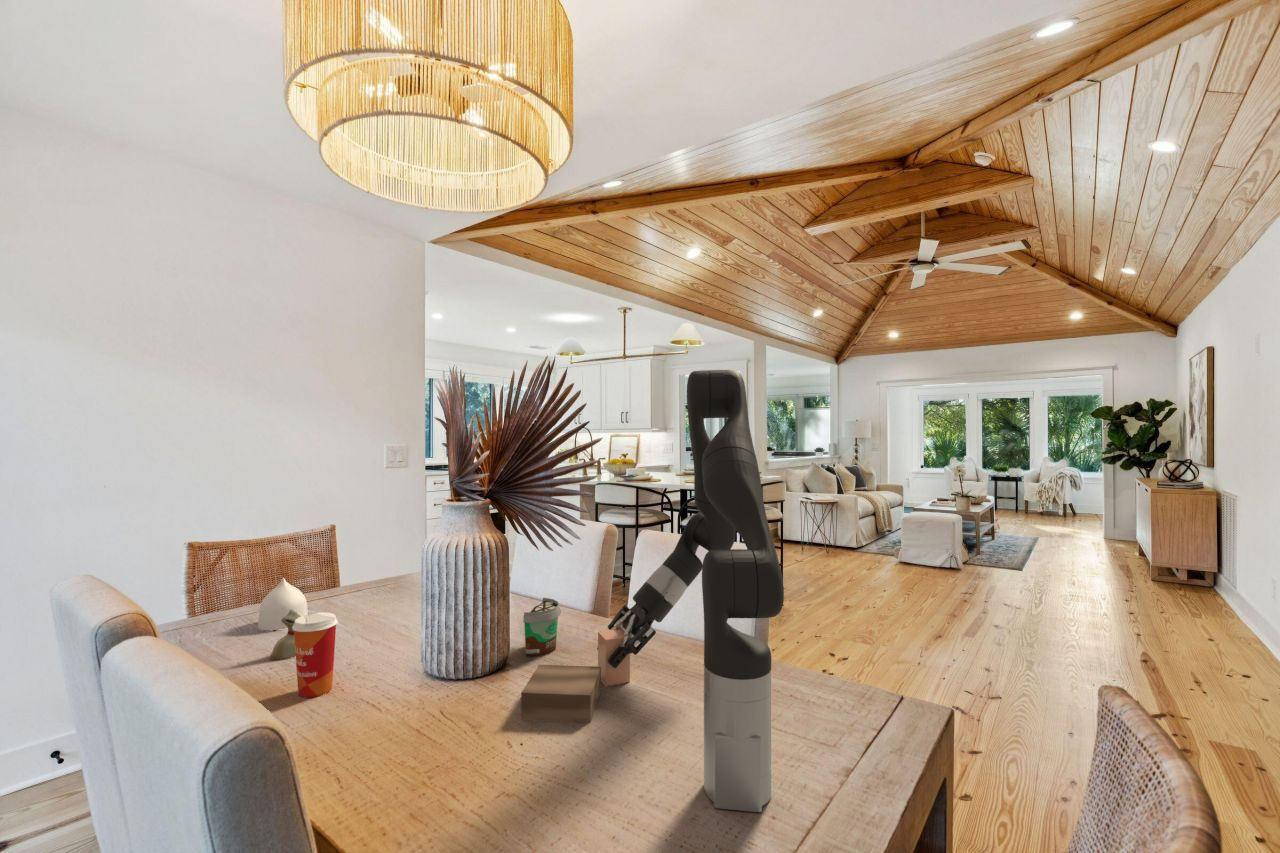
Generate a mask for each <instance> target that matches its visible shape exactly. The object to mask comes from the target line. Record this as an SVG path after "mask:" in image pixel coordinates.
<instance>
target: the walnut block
mask: <svg viewBox="0 0 1280 853" xmlns="http://www.w3.org/2000/svg"><path fill="white" fill-rule="evenodd" d="M601 692H602V681H601V667H598V666H593V665H591V666H589V665H586V666H585V665H561V664H560V665H557V664H538V665H537V667H536V668H535V670H534V672H533V674H532V675H531V677H530V678H529V679H528V681H527V682H526V685H525V686H524V687H523V689H522V691H521V695H520V696H521V697H520V698H521V701H520V702H521V703H520V704H521V705H520V706H521V711H520V712H521V714H520V716H521V717H520V718H521V721H524V720H525V721H542V722H543V721H544V722H545V721H546V722H567V723H569V722H570V723H591V722H592V720H593V716H594V713H595V710H596V707H597V704H598V701H599V698H600V695H601Z"/></svg>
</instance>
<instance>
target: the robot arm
mask: <svg viewBox="0 0 1280 853" xmlns="http://www.w3.org/2000/svg"><path fill="white" fill-rule="evenodd" d="M686 408H687V417H688V429H689V438H690V446H691V454H692V461H693V473H694V474H693V475H694V476H693V477H694V480H693V482H694V485H693V487H694V488H693V489H694V491H693V492H694V494H693V495H694V497H693V498H694V505H695V507H696V508H697V510H698V512H697V513H695V514H693V516H691V517H690V518H689V520H688V521H687V523H686V525H685V527H684V528H683V531H682V533H681V535H680V538H679V539H678V542H677V544H676V545H675V547H674V548H673V549H674V550H673V551H672V552H671V553H670V554H669V555H668V557H667V558H666V559H665V560H664V561H663V563H662V564H661V565H660V566H659V567H658V568H657V569H656V570H655V571H653V572H652V574H651V575H650V576H649V577H648V578H647V579H646V581H645V582H644V583H643V584H642V586H641V587H640V588H639V589H638V590H637V591H636V593H635V594H634V595H633V597H632V600H633V601H634V603H635V604H634V605H633V606H631V608H630V607H628V606H627V604H625V605H623V606H622V607H621V608H620V610H619V611H618V612H617V613H616V615H615V616H614V618H613V619H612V620H611V621H610V623H609V624H608V626H607V629H608V630H615V629H622V630H623V631H625V632H624V636H625V637H624V639H623V641H622V643H621V647H620V646H619V647H618V648H617V649H616V650H615V652H614V653H613V654H612V655H611V656H610V658H609V659H608V663H609V664H610V665H611V666H612V667H613V668H617V667H618V665H619V664H620V663H621V662H622V661H623V659H624V658H625V657H626V656H627V655H628V654H630V655H631V654H633V655H634V656H635V655H636V656H637V654H639V652H640V651H641V650H643V648H644V647H645V646H646V645H647V644H648V643H649V641H650V640H652V638H653V637H654V636H656V634H657V631H656V629H654V628H653V626H652V625H653V623H654V621H655V622H656V623H661V622H662V621H663V620H664V619H665V618H666V617H667V615H669V613H670V611H671V610H672V609H673V608H674V607H675V605H676V604H677V603H678V602H679V600H680V599H681V598H682V597H683V595H684V594H685V591H686V590H687V589H688V588H689V587H690V586H691V584H692V583H693V582H694V580H695V579H696V578H697V576H698V575H699V574H700V573H701V589H702V590H701V591H702V605H703V623H704V624H703V626H704V627H703V629H704V630H703V632H704V633H703V634H704V636H703V638H704V639H703V643H704V644H703V649H704V650H703V790H704V792H705V794H706V796H707V797H708V799H710V800H711V802H713V808H715V809H721V810H732V811H741V812H743V811H744V812H751V813H761V812H762V811H763V807H764V806H765V805H766V804H767V803H769V801H770V800H771V796H772V652H771V649H770V647H769V645H767V643H766V642H764V641H763V640H762V639H759V638H757V637H756V636H754V635H753V636H752V635H750V634H747V633H744V632H742V631H740V630H737V628H734V627H732V625H730V624H729V623H728V620H729V619H768V618H769V619H770V618H774V617H777V616H778V615H779V614H780V613H781V611H782V609H783V608H784V607H783V606H784V601H785V590H784V589H785V588H784V580H783V573H782V569H781V566H780V561H779V558H778V557H779V556H778V554H777V550H776V547H775V542H774V540H773V536H772V533H771V528H770V526H769V522H768V518H767V512H766V509H765V503H764V496H763V489H762V482H761V475H760V474H761V473H760V470H759V464H758V460H757V456H756V451H755V446H754V443H753V437H752V433H751V427H750V420H749V412H748V400H747V391H746V385H745V381H744V378H743V376H742V374H741V373H740V372H739V371H737V370H735V369H734V370H733V369H709V370H707V369H705V370H703V369H702V370H693V371H691V372H690V374H689V375H688V378H687V383H686ZM705 419H727V420H726V422H725V423H724V425H723V426H722V427H721V429H719V431H718V432H717V433H716V435H714V437H713V438H712V439H711V438H710V437H709V435H708V433H707V430H706V426H705ZM736 532H737V533H738V535H739V536H740V537H741V540H742V542H744V544H745V547H746V548H745V549H743V548H742V549H740V548H738V549H735V548H733V546H734V543H735V540H736ZM699 547H702V548H703V549H705V550H706V551H707V552H706V554H705V555H704V558H703V561H702V560H701V559H700V558H699V557H698V556H697V554H696V553H697V550H698V548H699ZM732 548H733V549H732ZM629 640H630V641H629ZM628 641H629V642H628ZM596 649H597V651H598V647H597V648H596Z"/></svg>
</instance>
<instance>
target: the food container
mask: <svg viewBox="0 0 1280 853" xmlns="http://www.w3.org/2000/svg"><path fill="white" fill-rule="evenodd" d="M561 615H562V609H561V606H560V604H559V601H557V600H556V599H554V598H550V597H542V602H541V603H540V604H538V605H535V606H534V607H533V608H532V609H531V611H529V612H528V611H527V612H525V611H524V612H523V618H522V619H523V624H524V642H525V657H526V656H527V657H526V658H531V657H532V658H534V656H537V657H542V656H547V655H551V653H554V652H555V651H556V649H557V638H558V637H557V635H558V624H559V617H560V616H561ZM553 651H554V652H553ZM546 654H547V655H546ZM528 656H529V657H528Z"/></svg>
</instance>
